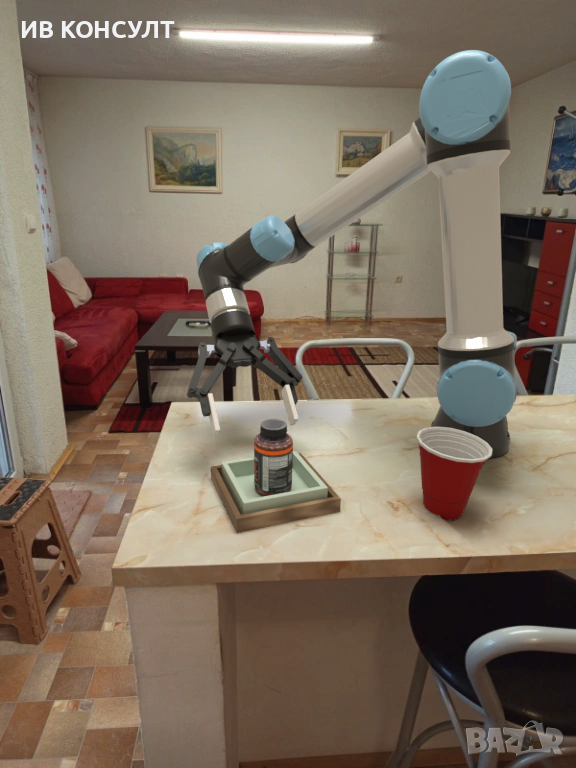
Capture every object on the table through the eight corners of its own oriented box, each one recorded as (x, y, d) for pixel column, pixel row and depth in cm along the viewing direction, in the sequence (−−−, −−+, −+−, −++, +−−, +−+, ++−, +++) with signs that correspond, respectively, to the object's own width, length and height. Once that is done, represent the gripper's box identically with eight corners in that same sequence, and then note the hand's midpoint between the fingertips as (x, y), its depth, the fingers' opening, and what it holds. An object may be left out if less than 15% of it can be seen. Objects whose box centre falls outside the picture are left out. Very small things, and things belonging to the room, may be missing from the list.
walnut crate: (299, 467, 91) (300, 452, 90) (339, 516, 77) (340, 498, 76) (211, 482, 86) (210, 466, 85) (236, 537, 72) (236, 519, 71)
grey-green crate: (295, 468, 89) (295, 450, 88) (326, 508, 78) (327, 487, 76) (222, 481, 85) (221, 462, 83) (244, 524, 73) (244, 503, 72)
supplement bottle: (253, 479, 84) (253, 415, 80) (290, 478, 84) (291, 415, 80) (254, 499, 78) (254, 431, 74) (293, 498, 78) (295, 431, 75)
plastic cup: (486, 536, 73) (500, 460, 69) (409, 525, 75) (417, 452, 71) (476, 496, 83) (487, 428, 79) (408, 488, 85) (415, 421, 81)
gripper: (288, 326, 101) (317, 425, 93) (159, 335, 92) (179, 446, 84) (299, 304, 95) (331, 409, 86) (162, 312, 86) (183, 429, 77)
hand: (256, 427), depth 85 cm, fingers open, 13 cm apart
